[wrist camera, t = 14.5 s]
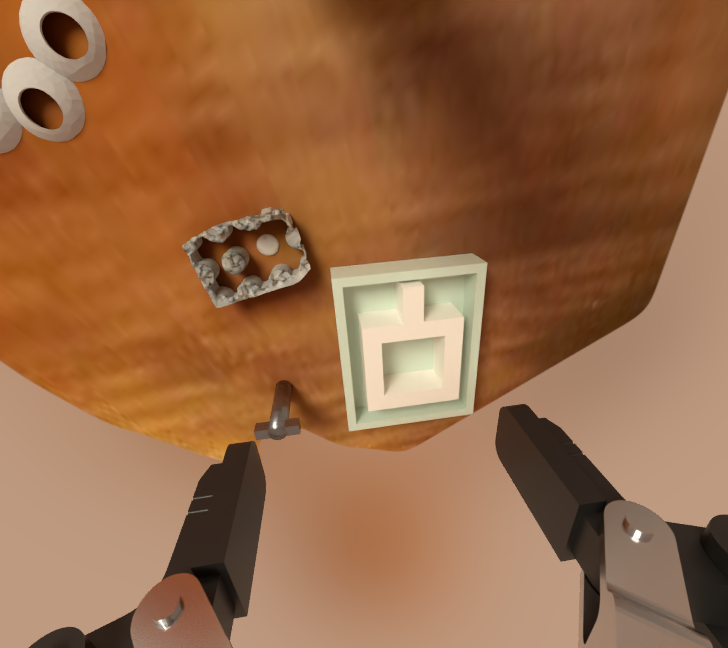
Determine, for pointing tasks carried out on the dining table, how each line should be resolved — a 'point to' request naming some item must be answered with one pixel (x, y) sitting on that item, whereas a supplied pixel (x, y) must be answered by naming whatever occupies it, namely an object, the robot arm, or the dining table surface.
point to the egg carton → (246, 259)
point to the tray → (376, 293)
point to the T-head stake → (279, 416)
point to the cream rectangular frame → (410, 325)
